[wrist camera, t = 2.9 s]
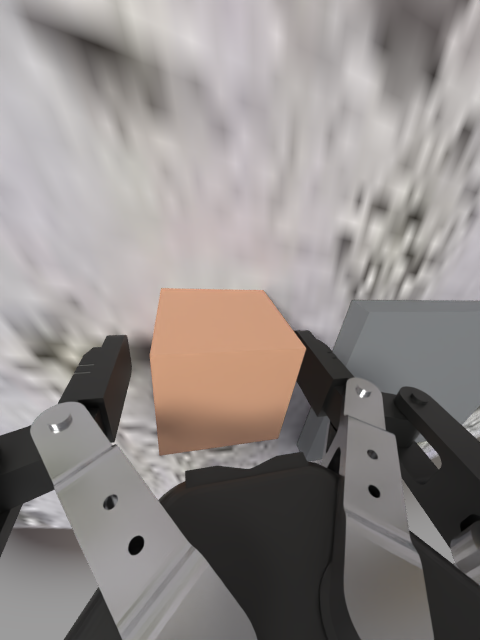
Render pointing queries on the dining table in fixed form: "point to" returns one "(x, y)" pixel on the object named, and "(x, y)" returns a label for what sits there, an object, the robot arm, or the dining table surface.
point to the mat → (408, 356)
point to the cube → (220, 368)
